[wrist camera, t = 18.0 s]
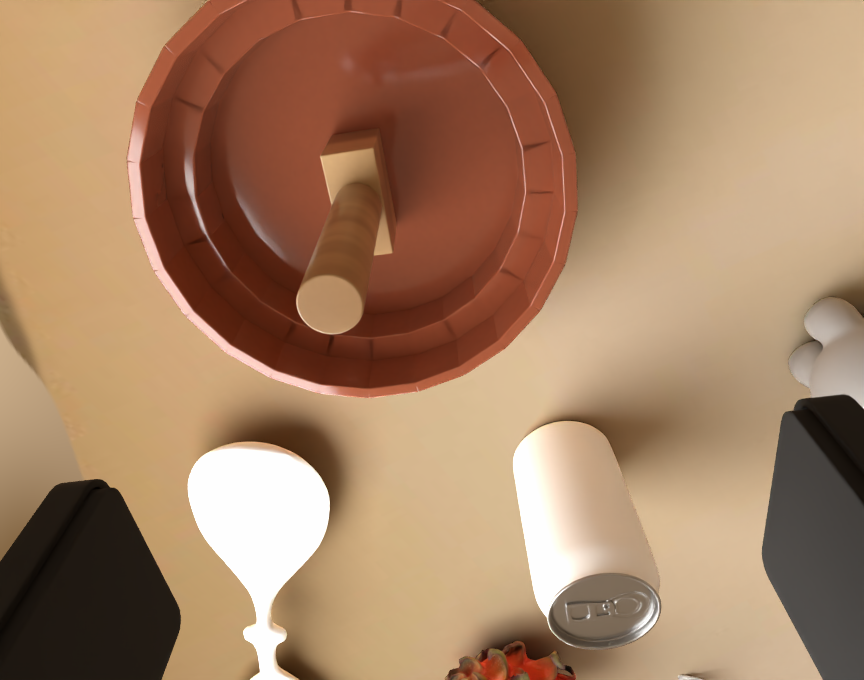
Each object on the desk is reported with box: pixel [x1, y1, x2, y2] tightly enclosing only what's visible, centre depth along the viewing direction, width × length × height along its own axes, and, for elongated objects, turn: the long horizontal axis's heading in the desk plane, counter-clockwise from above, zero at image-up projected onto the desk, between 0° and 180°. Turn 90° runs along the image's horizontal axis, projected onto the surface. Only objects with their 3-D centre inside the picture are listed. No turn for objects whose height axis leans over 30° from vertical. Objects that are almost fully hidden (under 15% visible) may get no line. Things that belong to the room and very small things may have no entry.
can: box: [513, 421, 661, 650], centre depth 38 cm, size 6×6×12 cm
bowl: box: [127, 0, 578, 398], centre depth 31 cm, size 19×19×6 cm
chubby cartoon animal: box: [788, 297, 864, 409], centre depth 36 cm, size 7×12×8 cm, turn 174°
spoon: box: [188, 442, 330, 680], centre depth 48 cm, size 9×32×3 cm, turn 176°
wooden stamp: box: [296, 128, 397, 334], centre depth 28 cm, size 5×2×14 cm, turn 8°
